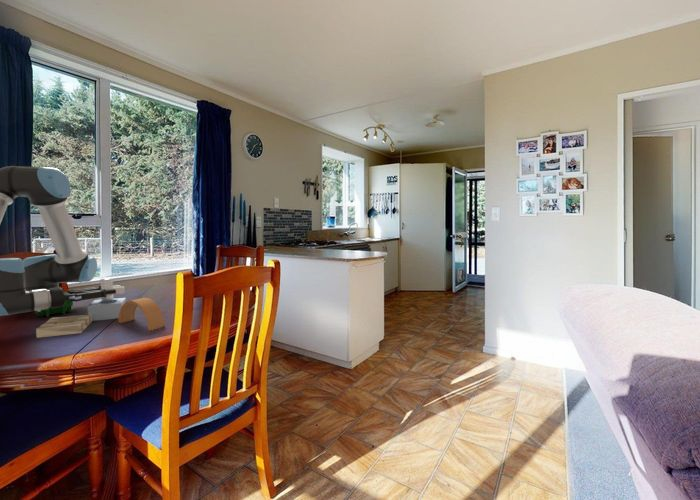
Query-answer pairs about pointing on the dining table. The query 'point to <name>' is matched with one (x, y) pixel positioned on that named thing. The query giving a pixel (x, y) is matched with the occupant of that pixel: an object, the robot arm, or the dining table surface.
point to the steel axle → (107, 284)
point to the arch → (149, 310)
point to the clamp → (56, 309)
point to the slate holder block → (105, 309)
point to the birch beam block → (64, 326)
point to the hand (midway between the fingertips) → (122, 289)
